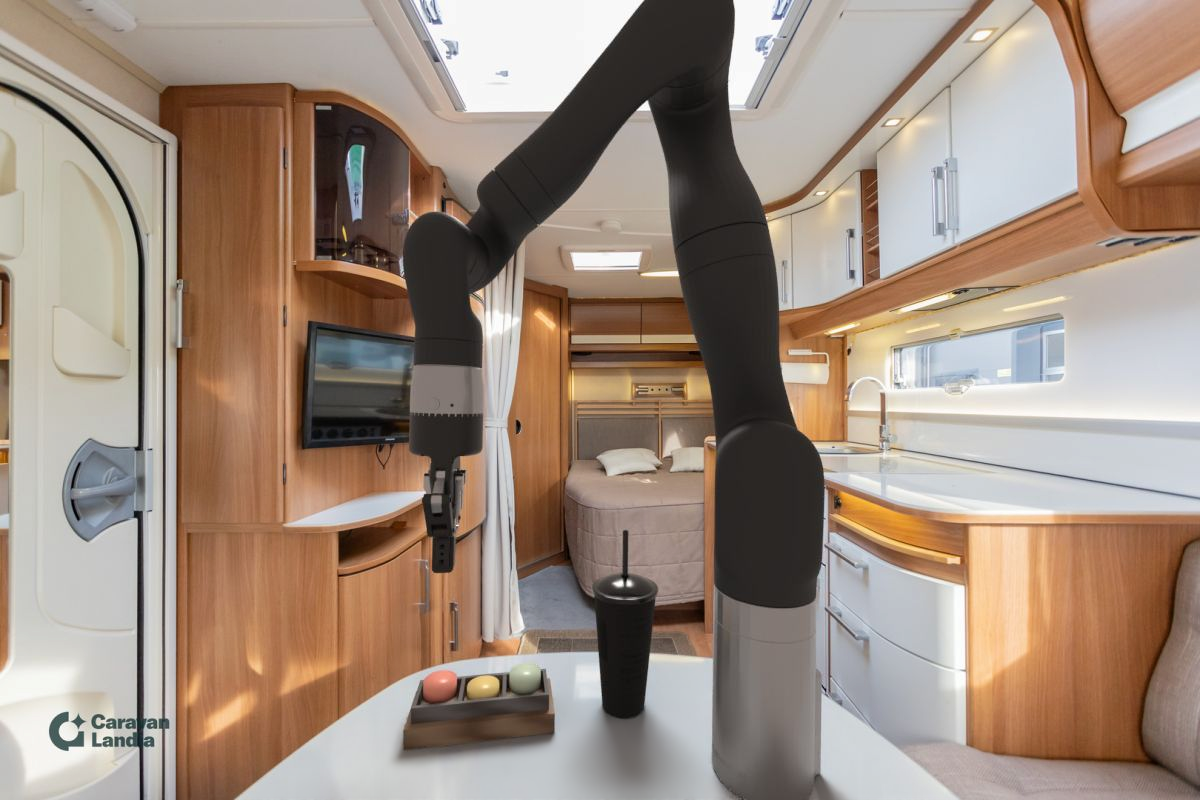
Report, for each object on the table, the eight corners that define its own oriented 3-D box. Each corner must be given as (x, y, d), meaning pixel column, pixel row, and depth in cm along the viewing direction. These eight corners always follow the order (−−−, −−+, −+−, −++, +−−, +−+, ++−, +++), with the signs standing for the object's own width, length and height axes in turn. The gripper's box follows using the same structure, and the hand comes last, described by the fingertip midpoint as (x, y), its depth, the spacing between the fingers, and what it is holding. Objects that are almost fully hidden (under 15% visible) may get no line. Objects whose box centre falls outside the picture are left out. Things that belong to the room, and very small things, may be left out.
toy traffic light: (549, 695, 56) (550, 664, 56) (554, 732, 50) (554, 698, 50) (416, 708, 53) (416, 676, 53) (403, 750, 47) (403, 713, 47)
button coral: (458, 683, 53) (458, 668, 53) (454, 702, 49) (454, 687, 49) (426, 686, 52) (426, 671, 52) (420, 705, 49) (420, 690, 49)
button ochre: (499, 688, 54) (499, 674, 54) (498, 707, 50) (498, 692, 50) (468, 691, 53) (468, 677, 53) (465, 711, 50) (465, 695, 50)
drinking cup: (653, 733, 50) (656, 543, 50) (583, 722, 51) (585, 537, 51) (659, 689, 57) (661, 524, 57) (597, 681, 59) (599, 520, 59)
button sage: (539, 675, 54) (539, 661, 54) (541, 693, 51) (541, 678, 51) (509, 678, 54) (509, 664, 54) (509, 696, 50) (509, 681, 50)
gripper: (478, 412, 45) (474, 594, 45) (487, 408, 58) (483, 549, 58) (395, 410, 44) (390, 598, 44) (422, 407, 57) (419, 551, 57)
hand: (443, 570), depth 51 cm, fingers closed
